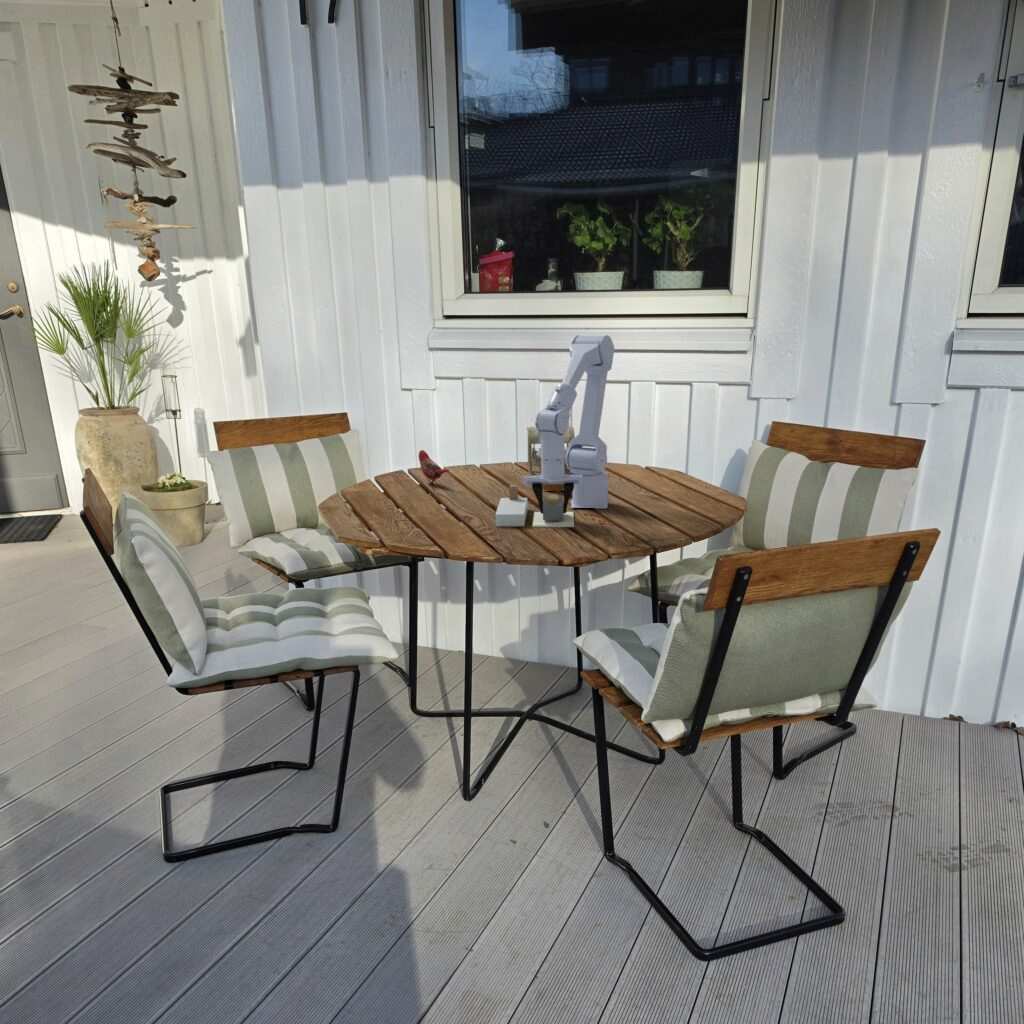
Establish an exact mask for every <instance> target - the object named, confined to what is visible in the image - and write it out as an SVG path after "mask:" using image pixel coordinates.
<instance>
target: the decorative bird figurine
mask: <svg viewBox="0 0 1024 1024" xmlns="http://www.w3.org/2000/svg"><path fill="white" fill-rule="evenodd" d="M418 460H419V465H420V468H421V472H422V473H423V475H424V476H425V477H426V478H427V479H429V481H428V482H430V483H434V485H436V483H435V481H436V480H437V479H439V478H441V477H442V475H443V473H447V472H449V471H450V469H449V468H447V469H443V468H441V467H440V466H439V465H438V464H437V463H436V462H435V461H434V460H432V459H431V458H430V457H429V455H428V453H427V452H426V451H425V450H424V449H423V450H422V449H421V450H420V451H419V452H418ZM430 480H431V481H430Z"/></svg>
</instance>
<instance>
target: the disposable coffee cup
mask: <svg viewBox="0 0 1024 1024" xmlns="http://www.w3.org/2000/svg"><path fill="white" fill-rule="evenodd" d="M567 450H568V448H567V446H566V447H565V446H564V469H565V474H567V473H566V471H568V470H567V468H568V467H567V465H566V462H565V456H566V452H567ZM536 451H537V453H536V455H537V457H538V461H539V467H538V468H539V472H540V474H539V475H541V447H539V448H537V450H536ZM543 489H544V490H547V491H558V490H562V489H564V484H543Z"/></svg>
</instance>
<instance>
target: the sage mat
mask: <svg viewBox="0 0 1024 1024" xmlns="http://www.w3.org/2000/svg"><path fill="white" fill-rule="evenodd" d="M574 517H575V516H574V511H566V513H564V520H543V514H541V512H540V511H534V512H533V521H532V525H531V526H532V528H574V527H575V523H574V521H575V520H574V519H575V518H574Z"/></svg>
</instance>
